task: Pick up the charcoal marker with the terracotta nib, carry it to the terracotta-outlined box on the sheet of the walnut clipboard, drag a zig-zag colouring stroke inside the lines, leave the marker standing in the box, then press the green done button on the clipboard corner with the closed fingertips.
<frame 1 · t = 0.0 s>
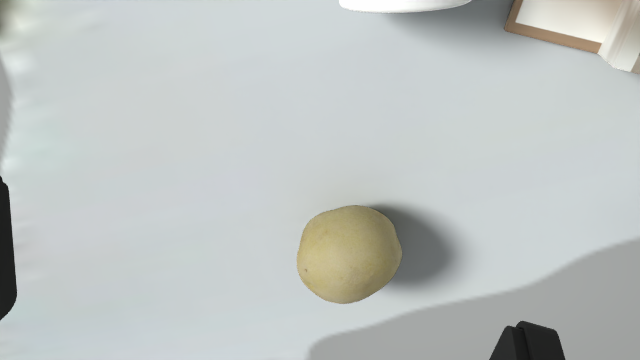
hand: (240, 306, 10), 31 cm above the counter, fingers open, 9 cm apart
potato: (355, 225, 46), on the counter
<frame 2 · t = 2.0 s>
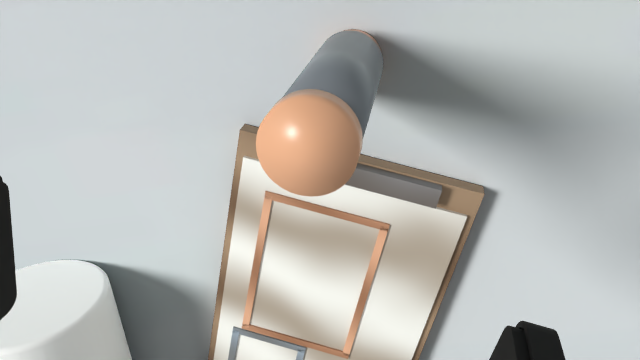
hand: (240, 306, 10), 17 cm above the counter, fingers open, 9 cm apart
clipboard: (318, 320, 32), on the counter
marker: (353, 58, 25), on the counter
mug: (68, 317, 36), on the counter
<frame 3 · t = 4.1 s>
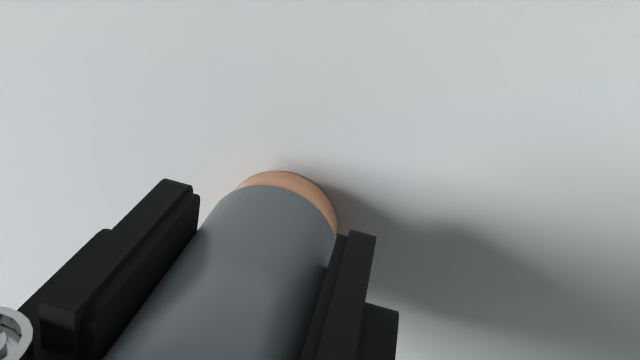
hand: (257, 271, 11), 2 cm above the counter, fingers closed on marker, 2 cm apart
marker: (282, 221, 13), on the counter, touching gripper
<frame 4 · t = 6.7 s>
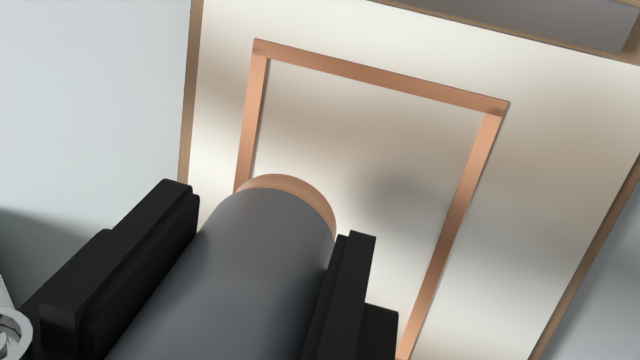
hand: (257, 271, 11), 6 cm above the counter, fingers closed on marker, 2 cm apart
clipboard: (350, 301, 18), on the counter
marker: (281, 223, 13), point 4 cm above the counter, touching gripper
when the fingers open (4 cm above the counter, at t = 9.2 s): marker stays where it is, resting on clipboard.
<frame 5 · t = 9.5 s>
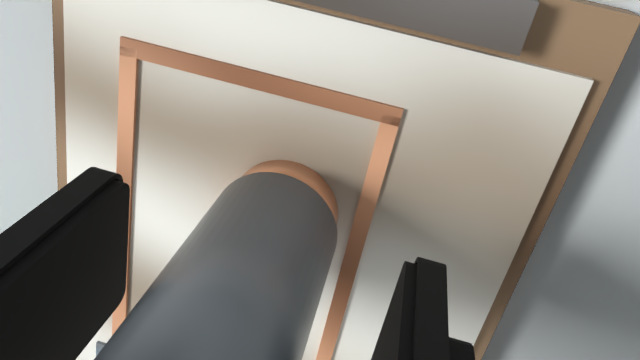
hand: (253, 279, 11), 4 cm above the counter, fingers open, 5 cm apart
clipboard: (261, 330, 17), on the counter
marker: (285, 208, 13), point 1 cm above the counter, touching clipboard
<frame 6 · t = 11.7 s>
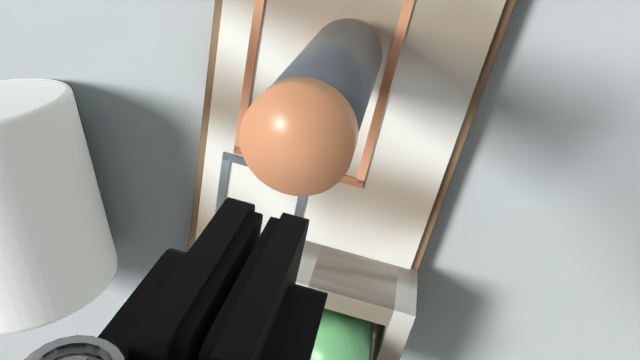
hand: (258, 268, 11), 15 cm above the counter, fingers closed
clipboard: (326, 144, 26), on the counter
marker: (349, 49, 23), point 1 cm above the counter, touching clipboard
mug: (29, 163, 31), on the counter
done button: (335, 350, 26), point 5 cm above the counter, slide at 0.0 cm
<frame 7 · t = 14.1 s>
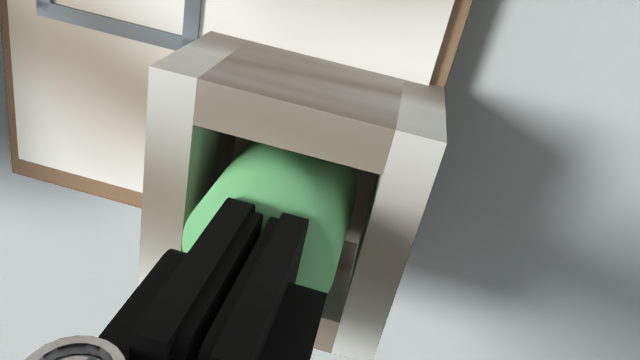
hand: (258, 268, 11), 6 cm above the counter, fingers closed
done button: (277, 218, 12), point 4 cm above the counter, slide at 0.8 cm, touching gripper
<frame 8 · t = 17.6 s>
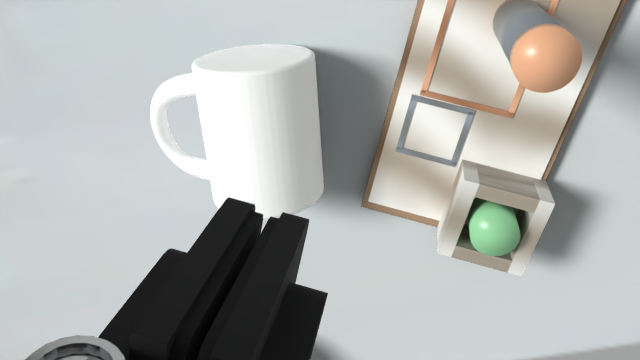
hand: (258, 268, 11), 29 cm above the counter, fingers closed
clipboard: (484, 89, 38), on the counter
marker: (515, 19, 34), point 1 cm above the counter, touching clipboard
mug: (251, 109, 42), on the counter
done button: (492, 223, 38), point 4 cm above the counter, slide at 1.1 cm
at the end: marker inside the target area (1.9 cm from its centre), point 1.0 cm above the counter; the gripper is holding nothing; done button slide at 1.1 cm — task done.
